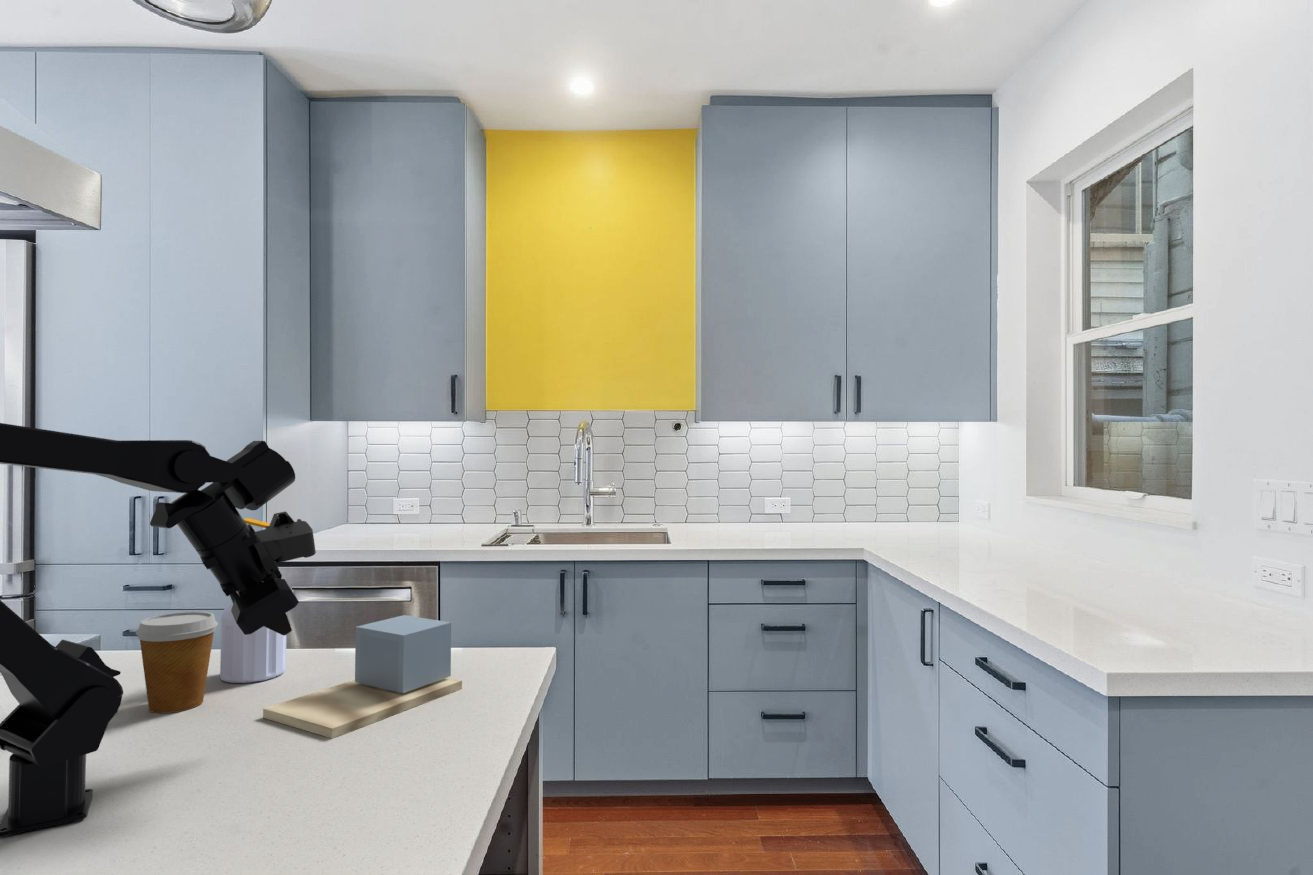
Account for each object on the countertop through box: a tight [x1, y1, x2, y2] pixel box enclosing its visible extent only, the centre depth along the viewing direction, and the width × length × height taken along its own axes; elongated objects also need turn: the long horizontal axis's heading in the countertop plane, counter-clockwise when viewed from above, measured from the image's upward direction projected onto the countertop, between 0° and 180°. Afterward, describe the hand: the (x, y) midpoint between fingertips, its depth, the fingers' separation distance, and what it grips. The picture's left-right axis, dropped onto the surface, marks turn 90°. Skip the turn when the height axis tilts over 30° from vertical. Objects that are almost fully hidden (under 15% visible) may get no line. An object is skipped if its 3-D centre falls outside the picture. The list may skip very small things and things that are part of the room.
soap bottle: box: [219, 517, 288, 684], centre depth 115 cm, size 9×9×25 cm
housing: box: [354, 614, 452, 693], centre depth 108 cm, size 9×10×8 cm
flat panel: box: [262, 677, 463, 739], centre depth 103 cm, size 22×14×5 cm, turn 151°
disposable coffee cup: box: [135, 611, 219, 714], centre depth 101 cm, size 10×10×12 cm
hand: (287, 632), depth 92 cm, fingers closed
